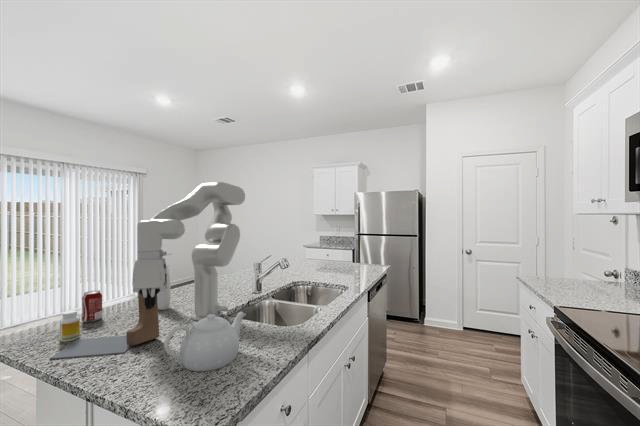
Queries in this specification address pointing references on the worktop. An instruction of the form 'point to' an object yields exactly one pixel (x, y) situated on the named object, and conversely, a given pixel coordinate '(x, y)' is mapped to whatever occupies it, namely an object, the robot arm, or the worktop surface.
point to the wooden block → (144, 324)
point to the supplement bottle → (69, 326)
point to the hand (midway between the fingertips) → (150, 307)
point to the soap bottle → (164, 294)
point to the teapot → (208, 343)
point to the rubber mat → (94, 347)
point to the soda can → (91, 306)
